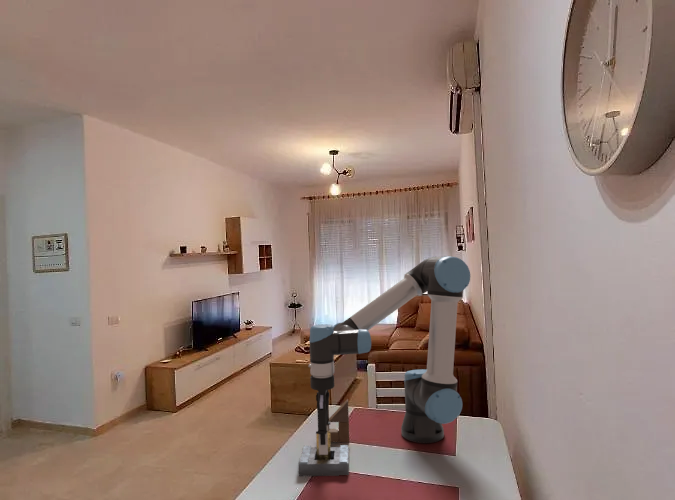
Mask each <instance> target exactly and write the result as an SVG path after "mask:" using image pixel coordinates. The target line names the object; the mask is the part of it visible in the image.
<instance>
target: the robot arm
mask: <svg viewBox="0 0 675 500" xmlns="http://www.w3.org/2000/svg"><path fill="white" fill-rule="evenodd" d="M470 282H471V270H470V268H469V266H468V265H467V264H466V262H465V261H464V260H463V259H462V258H459V257H456V256H451V255H444V256H430V257H428V258H426V259H424V260H423V261H421V262H420V263H418V264H416V266H414V267H412V268H411V269H410V270H408V272H406V273H405V274H404V277H403V278H402V279H401V280H400V281H399V282H397V283H396V284H394V285H392V287H390V288H388V289H387V290H386V291H384V292H383V293H382V294H381V295H379V296H378V297H376V298H375V299H373V300H372V301H370V302H369V303H367V304H366V305H365V306H364V307H362V308H361V309H360V310H358V311H357V312H355V313H354V314H352V315H351V316H349V317H348V318H347V319H345V320H344V321H343V322H338V323H336V324H334V325H331V324H314V325H312V326H311V327H310V329H309V340H308V342H309V363H310V364H308V366H307V367H308V368H310V371H309V372H310V375H311V376H310V377H309V378H310V388H311V389H312V390H314V391H317V392H316V395H315V402H316V410H317V431H315V435H316V434H318V435H319V455H328V436H327V431H329V429H330V427H329V428H328V426H327V425H329V426H330V425H331V422H328V420H329V418H330V416H329V417H328V405H330V390H332V389H333V388H335V375H334V374H335V356H339V355H356V354H357V355H361V354H365V353H366V354H367V353H369V352H370V351H371V349H372V336H371V333H370V330H371V329H372V328H374V327H375V326H376V325H377V324H380V323H381V322H382V321H383V320H385V319H386V318H387V317H389V316H391V315H392V314H393V313H395V312H396V311H397V310H399V309H400V308H401V307H403V306H404V305H406V304H407V303H408V302H409V301H410V300H412V299H413V298H415V297H416V296H422V295H424V294H425V293H427V296H428V298H429V299H430V300H431V303H430V314H429V315H430V317H429V328H428V329H429V330H428V331H429V332H428V346H427V347H428V348H427V360H426V369H425V368H424V369H422V368H421V369H412V370H407V371H406V372H405V373H404V377H403V378H404V379H403V383H404V402H405V403H404V405H405V413H404V417H403V419H402V423H401V428H400V429H401V431H400V432H401V433H400V434H401V436H402V437H403V438H404V439H406V440H408V441H410V442H413V443H418V444H433V443H437V442H439V441H441V440H443V438H444V437H445V431H444V430H445V429H444V426H443V425H445V424H450V423H452V422H454V421H455V420H456V419H457V418H458V417H459V416H460V414H461V412H462V410H463V399H462V397H461V396H460V394H459V392H458V379H457V377H455V376H454V363H455V348H456V331H457V318H458V317H457V316H458V315H457V314H458V303H459V302H460V301H461V300H462V299H463V298H464V297H463V296H464V291H465V289H466V288H467V287H468V286H469V284H470Z"/></svg>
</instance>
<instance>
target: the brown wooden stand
mask: <svg viewBox="0 0 675 500" xmlns="http://www.w3.org/2000/svg"><path fill="white" fill-rule="evenodd" d="M329 405H330V404H329ZM329 405H328V417H329V420H328V422H330V423H338V429H336V428H330V425H327V426H328V428H329V432H330V439H331V443H350V420H349V399H348V398H347V399H346V400H345V401H344V402H343V403H342V404H341V405H340V406H339V407H338V408H337V409H336V410H335V412H333V414H331V416H330V406H329Z"/></svg>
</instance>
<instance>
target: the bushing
mask: <svg viewBox="0 0 675 500" xmlns="http://www.w3.org/2000/svg"><path fill="white" fill-rule="evenodd" d="M327 436H328V455H319V435H318V434H316V433H315V437H316V439H315V440H316V447H317V460H331V447H332V446H331V445H332V442H331V439H330V432H329V431H327Z"/></svg>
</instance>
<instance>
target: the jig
mask: <svg viewBox="0 0 675 500" xmlns="http://www.w3.org/2000/svg"><path fill="white" fill-rule="evenodd" d="M339 475H350V447H349V445H348V444H342V445H341V444H340V446H331V460H317V446H315V447H312V445H303V447H302V449H301V454H300V457H299V461H298V477H337V476H338V477H340V476H339Z"/></svg>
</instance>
